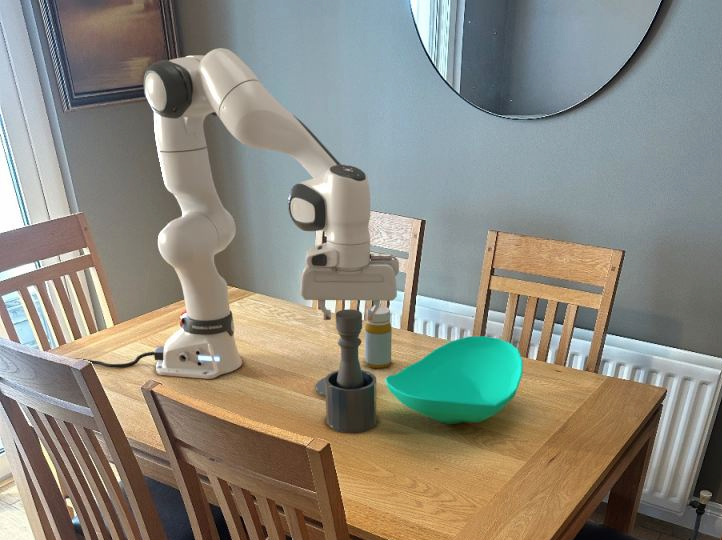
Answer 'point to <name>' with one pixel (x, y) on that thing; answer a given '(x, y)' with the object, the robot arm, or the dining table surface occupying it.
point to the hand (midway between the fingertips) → (349, 319)
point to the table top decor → (461, 380)
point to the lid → (321, 386)
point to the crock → (351, 404)
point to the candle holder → (349, 348)
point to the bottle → (378, 339)
